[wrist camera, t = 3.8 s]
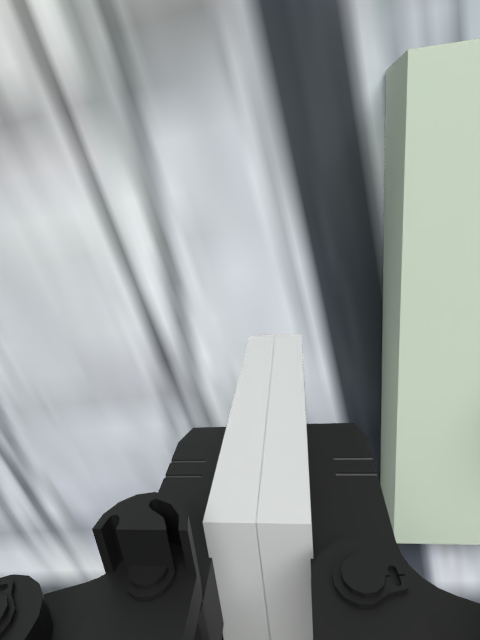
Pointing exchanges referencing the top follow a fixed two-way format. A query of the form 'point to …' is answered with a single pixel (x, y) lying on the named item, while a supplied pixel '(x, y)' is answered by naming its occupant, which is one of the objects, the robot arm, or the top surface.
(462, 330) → the green
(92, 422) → the top surface
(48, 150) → the top surface
